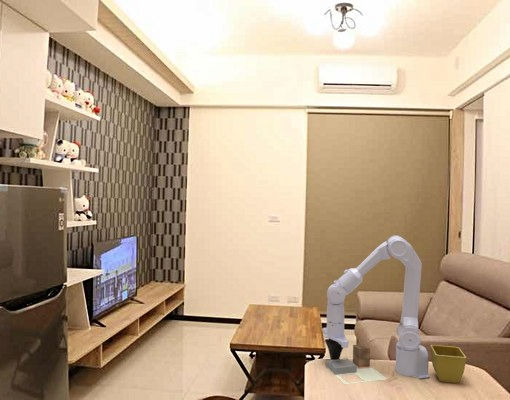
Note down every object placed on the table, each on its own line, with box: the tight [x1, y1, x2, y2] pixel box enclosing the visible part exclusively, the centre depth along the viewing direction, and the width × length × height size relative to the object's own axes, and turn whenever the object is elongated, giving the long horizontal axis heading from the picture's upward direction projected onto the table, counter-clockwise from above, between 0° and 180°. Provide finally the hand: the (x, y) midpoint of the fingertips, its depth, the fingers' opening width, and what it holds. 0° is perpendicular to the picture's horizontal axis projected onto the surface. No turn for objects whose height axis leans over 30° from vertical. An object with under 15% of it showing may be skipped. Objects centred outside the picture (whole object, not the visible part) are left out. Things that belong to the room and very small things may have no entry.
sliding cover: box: [325, 357, 357, 376], centre depth 136 cm, size 8×6×2 cm
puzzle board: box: [325, 365, 388, 385], centre depth 135 cm, size 14×14×1 cm
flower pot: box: [429, 344, 467, 384], centre depth 133 cm, size 9×9×9 cm
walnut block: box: [352, 343, 371, 368], centre depth 140 cm, size 4×4×6 cm
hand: (334, 361), depth 141 cm, fingers closed
